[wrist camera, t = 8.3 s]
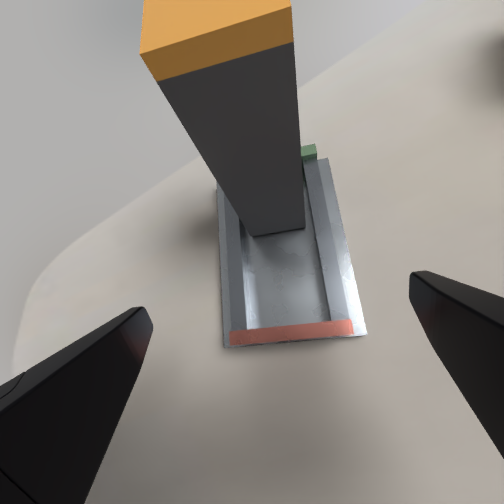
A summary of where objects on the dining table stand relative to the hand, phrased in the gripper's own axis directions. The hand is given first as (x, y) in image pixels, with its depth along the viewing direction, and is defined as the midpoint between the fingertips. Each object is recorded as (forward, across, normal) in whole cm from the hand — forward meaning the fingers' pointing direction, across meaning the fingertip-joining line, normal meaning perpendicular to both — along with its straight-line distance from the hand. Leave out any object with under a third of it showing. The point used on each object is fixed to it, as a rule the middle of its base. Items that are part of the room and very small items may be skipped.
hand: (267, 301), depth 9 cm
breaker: (+12, 0, 0) cm, 12 cm away
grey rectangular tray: (+11, 0, +3) cm, 11 cm away
